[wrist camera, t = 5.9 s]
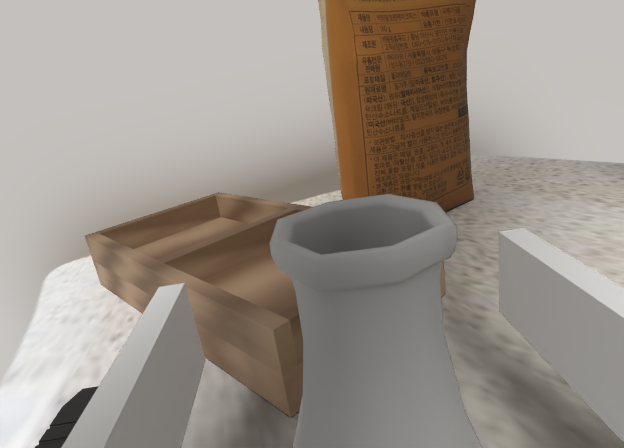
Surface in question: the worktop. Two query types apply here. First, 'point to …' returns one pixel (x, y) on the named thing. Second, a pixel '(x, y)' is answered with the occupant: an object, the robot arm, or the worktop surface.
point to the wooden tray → (218, 284)
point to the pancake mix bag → (400, 97)
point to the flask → (373, 324)
